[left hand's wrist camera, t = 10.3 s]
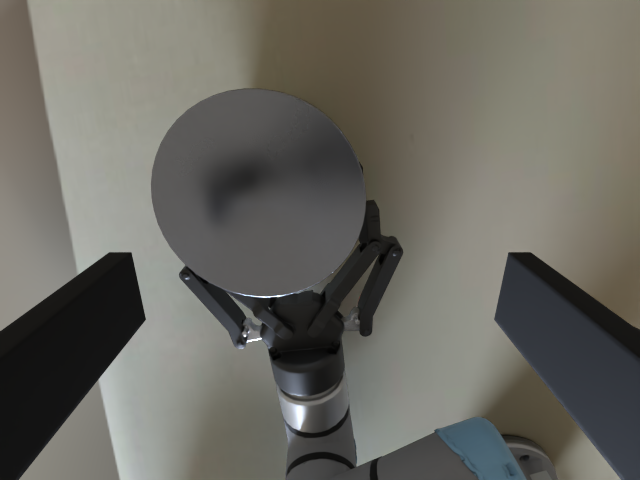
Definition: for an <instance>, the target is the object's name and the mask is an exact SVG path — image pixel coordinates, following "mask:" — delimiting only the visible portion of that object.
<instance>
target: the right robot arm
mask: <svg viewBox="0 0 640 480" xmlns="http://www.w3.org/2000/svg"><path fill="white" fill-rule="evenodd" d="M359 164H360V162H359ZM360 167H361V169H362V173H363V167H362V166H361V164H360ZM359 241H360V244H359V245H358V247H357V248H356V249H355V251H354V252H353V253H352V255H351V256H350V257H349V259H348V260H347V261H346V263H345V264H344V265H343V267H342V268H341V269H340V271H339V272H338V273H337V275H336V276H335V277H334V279H333V280H332V281H331V283H328V284H327V286H326V287H325V288H324V290H323V291H322V292H321V294H318V293H314V292H313V290H311V291H304V292H302V293H299V294H296V293H293V294H289V295H284V296H280V297H279V298H278V297H255V296H246V295H242V294H238V293H233V292H231V291H228V290H225V289H222V288H220V287H218V286H216V285H214V284H212V283H210V282H208V281H206V280H205V279H203V278H202V277H200V276H199V275H197V274H196V273H195V272H194V271H192V270H191V269H190V268H189V267H188V266H187V265H185V267H184V268H183V269H182V270H181V272H180V273H179V277H180V279H181V280H182V281H183V282H184V283H185V284H186V285H187V286H188V287H189V289H190V290H191V291H192V292H193V293H194V294H195V295H196V296H197V297H198V298H199V300H200V301H201V302H202V303H203V304H204V305H205V306H206V307H207V308H208V309H209V311H210V312H211V313H212V314H213V315H214V316H215V317H216V318H217V319H218V320H219V322H220V323H221V324H222V325H223V326H224V327H225V328H226V329H227V330H228V331H229V334H230V336H231V339H232V341H233V344H234V346H235V347H236V348H238V349H242V348H244V347H245V346H246V343H247V342H249V341H254V340H259V339H262V340H263V341H264V342H265V343H266V345H267V347H268V351H269V356H270V360H271V365H272V369H273V374H274V378H275V381H276V388H277V393H278V397H279V401H280V405H281V409H282V413H283V418H284V422H285V427H286V432H287V438H288V454H287V464H286V480H558V478H557V474H556V471H555V468H554V466H553V464H552V462H551V461H550V459H549V458H548V456H547V455H546V453H545V451H544V450H543V449H542V448H541V447H540V446H539V445H537V444H536V443H534V442H532V441H530V440H528V439H525V438H521V437H516V436H501V435H500V433H499V432H498V430H497V429H496V427H495V426H494V425H493V424H492V423H491V422H490V421H488V420H487V419H485V418H482V417H473V418H470V419H468V420H465V421H462V422H459V423H456V424H453V425H450V426H447V427H444V428H441V429H436V430H434V431H435V432H434V433H432V434H430V435H428V436H426V437H424V438H422V439H419V440H417V441H415V442H413V443H411V444H409V445H406V446H404V447H402V448H400V449H398V450H396V451H394V452H391V453H389V454H387V455H385V456H383V457H382V456H381V457H379V458H377V459H374V460H371V461H369V462H367V463H365V464H362V465H360V466H358V467H356V464H357V456H356V444H355V439H354V436H353V428H352V422H351V416H350V409H349V396H348V388H347V380H346V373H345V369H344V368H345V364H344V356H343V348H342V340H341V336H342V333H343V332H344V331H360V334H361V335H362V336H365V337H366V336H369V335H370V334H371V333H372V321H373V315H374V313H375V311H376V309H377V307H378V305H379V302H380V300H381V298H382V296H383V294H384V292H385V290H386V288H387V286H388V284H389V282H390V280H391V277H392V275H393V273H394V271H395V269H396V267H397V265H398V263H399V261H400V259H401V257H402V254H403V249H402V248H401V246H400V244H399V242H398V240H397V239H396V238H395V237H393V236H390V237H386V236H383V235H381V232H380V217H379V209H378V207H377V205H376V203H375V201H374V200H368V201H366V209H365V216H364V221H363V226H362V229H361V232H360V235H359ZM378 254H379V255H378ZM377 256H378V258H377V260H376V262H375V264H374V267H373V269H372V271H371V273H370V275H369V278H368V280H367V282H366V284H365V287H364V289H363V291H362V293H361V295H360V298H359V301H358V307H354V308H353V309H352V310H351V312H350V314H349V315H348V316H347V317H343V316H342V314H341V313H340V312H339V311H338V309H339V307H340V305H341V302H342V300H343V299H344V298H345V297H346V295H347V294H348V293H349V291H350V290H351V289H352V288H353V286H354V285H355V284H356V283H357V281H358V280H359V279H360V277H361V276H362V275H363V274H364V272H365V271H366V270H367V268H368V267H369V266H370V265H371V263H372V262H373V261H374V259H375V258H376V257H377ZM226 292H227V293H229V294H230V295H231V296H233V297H234V298H235V299H237V300H238V301H240V302H241V303H242V304H244V305H245V306H246V307H248V308H249V309H250V310H252V311H253V314H254V316H255V317H256V318H258V319H259V320H260V321H262V325H261V326H257V325H255V324H254V323H253V322H252V319H251V318H246V316H245V314H244V313H243V311H242V310H241V309H240V307H239V306H238V305H237V304H236V303H235V302H234V301H233V299H232V298H231V297H230V296H229V295H228V294H227V293H226ZM268 307H270V310H269V308H268Z"/></svg>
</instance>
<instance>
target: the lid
mask: <svg viewBox="0 0 640 480" xmlns="http://www.w3.org/2000/svg"><path fill="white" fill-rule="evenodd" d="M151 192H152V202H153V207H154V212H155V215H156V218H157V222H158V224H159V227H160V229H161V231H162V233H163V235H164V237H165V239H166V240H167V242H168V244H169V245H170V247H171V248H172V250H173V251H174V252H175V253H176V255H177V256H178V257H179V258H180V259H181V260H182V261H183V262H184V263H185V264H186V265H187V266H188V267H189V268H190V269H191V270H192V271H194V272H195V273H196V274H197V275H199V276H200V277H202V278H203V279H205V280H206V281H208V282H210V283H212V284H214V285H216V286H218V287H220V288H222V289H225V290H228V291H231V292H233V293H238V294H242V295H246V296H255V297H276V296H284V295H289V294H293V293H297V292H300V291H302V290H305V289H308V288H310V287H312V286H314V285H316V284H318V283H319V282H321V281H322V280H324V279H325V278H327V277H328V276H329V275H331V274H332V273H333V272H334V271H335V270H336V269H337V268H338V267H339V266H340V265H341V264H342V263H343V262H344V261H345V259H346V258H347V257H348V255H349V254H350V252H351V251H352V249H353V248H354V245H355V243H356V241H357V239H358V237H359V235H360V232H361V229H362V226H363V221H364V216H365V209H366V191H365V182H364V178H363V173H362V169H361V167H360V164H359V161H358V158H357V156H356V154H355V152H354V150H353V148H352V147H351V145H350V143H349V141H348V140H347V138H346V137H345V135H344V134H343V133H342V131H341V130H340V128H339V127H338V126H337V125H336V124H335V123H334V122H333V121H332V120H331V119H330V118H329V117H328V116H327V115H326V114H324V113H323V112H322V111H321V110H319V109H318V108H316V107H315V106H313V105H312V104H310V103H308V102H307V101H304V100H302V99H300V98H298V97H296V96H293V95H290V94H286V93H283V92H279V91H273V90H266V89H238V90H231V91H226V92H223V93H219V94H216V95H213V96H211V97H209V98H207V99H205V100H202V101H200V102H199V103H197V104H196V105H194V106H193V107H191V108H190V109H188V110H187V111H186V112H185V113H184V114H183V115H182V116H181V117H179V118H178V119H177V120H176V122H175V123H174V124H173V125H172V127H171V128H170V129H169V130H168V132H167V134H166V135H165V137H164V139H163V140H162V142H161V144H160V147H159V149H158V152H157V154H156V157H155V161H154V165H153V169H152V180H151Z"/></svg>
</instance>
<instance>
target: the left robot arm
mask: <svg viewBox="0 0 640 480" xmlns="http://www.w3.org/2000/svg"><path fill="white" fill-rule="evenodd" d="M145 320H146V318H145V314H144V309H143V304H142V300H141V295H140V290H139V286H138V281H137V276H136V272H135V267H134V262H133V257H132V253H131V252H109V253H108V254H107V255H105V256H104V257H102V258H101V259H100V260H98V261H97V262H96V263H94V264H93V265H91V266H90V267H89V268H87V269H86V270H84V271H83V272H82V273H80V274H79V275H78V276H76V277H75V278H73V279H72V280H71V281H69V282H68V283H67V284H65V285H64V286H62V287H61V288H60V289H58V290H57V291H56V292H54V293H53V294H51V295H50V296H49V297H47V298H46V299H44V300H43V301H42V302H40V303H39V304H38V305H36V306H35V307H33V308H32V309H31V310H29V311H28V312H26V313H25V314H24V315H22V316H21V317H20V318H18V319H17V320H15V321H14V322H13V323H11V324H10V325H9V326H7V327H6V328H4V329H3V330H2V331H0V480H19V479H20V477H21V476H22V475H23V473H24V472H25V471H26V470H27V469H28V467H29V466H30V465H31V464H32V462H33V461H34V460H35V458H36V457H37V456H38V455H39V453H40V452H41V451H42V450H43V448H44V447H45V446H46V445H47V443H48V442H49V441H50V440H51V438H52V437H53V436H54V435H55V433H56V432H57V431H58V429H59V428H60V427H61V426H62V424H63V423H64V422H65V421H66V419H67V418H68V417H69V416H70V414H71V413H72V412H73V411H74V409H75V408H76V407H77V406H78V404H79V403H80V402H81V400H82V399H83V398H84V397H85V395H86V394H87V393H88V392H89V390H90V389H91V388H92V387H93V385H94V384H95V383H96V382H97V380H98V379H99V378H100V377H101V375H102V374H103V373H104V372H105V370H106V369H107V368H108V367H109V365H110V364H111V363H112V361H113V360H114V359H115V358H116V356H117V355H118V354H119V353H120V351H121V350H122V349H123V348H124V346H125V345H126V344H127V343H128V341H129V340H130V339H131V338H132V336H133V335H134V334H135V332H136V331H137V330H138V329H139V327H140V326H141V325H142V324H143V322H144V321H145ZM494 320H495V321H496V322H497V324H498V325H499V326H500V327H501V329H502V330H503V331H504V332H505V334H506V335H507V336H508V338H509V339H510V340H511V341H512V343H513V344H514V345H515V346H516V348H517V349H518V350H519V351H520V353H521V354H522V355H523V356H524V358H525V359H526V360H527V361H528V363H529V364H530V365H531V367H532V368H533V369H534V370H535V372H536V373H537V374H538V375H539V377H540V378H541V379H542V380H543V382H544V383H545V384H546V385H547V387H548V388H549V389H550V390H551V392H552V393H553V394H554V395H555V397H556V398H557V399H558V401H559V402H560V403H561V404H562V406H563V407H564V408H565V409H566V411H567V412H568V413H569V414H570V416H571V417H572V418H573V419H574V421H575V422H576V423H577V424H578V426H579V427H580V428H581V429H582V431H583V432H584V433H585V435H586V436H587V437H588V438H589V440H590V441H591V442H592V443H593V445H594V446H595V447H596V448H597V450H598V451H599V452H600V453H601V455H602V456H603V457H604V458H605V460H606V461H607V462H608V464H609V465H610V466H611V467H612V469H613V470H614V471H615V472H616V474H617V475H618V476H619V477H620V479H621V480H640V329H638V328H635V327H633V326H632V325H630V324H629V323H627V322H626V321H625V320H623V319H622V318H620V317H619V316H618V315H616V314H615V313H614V312H612V311H611V310H609V309H608V308H607V307H605V306H604V305H603V304H601V303H600V302H598V301H597V300H596V299H594V298H593V297H591V296H590V295H589V294H587V293H586V292H585V291H583V290H582V289H580V288H579V287H578V286H576V285H575V284H573V283H572V282H571V281H569V280H568V279H567V278H565V277H564V276H562V275H561V274H560V273H558V272H557V271H556V270H554V269H553V268H551V267H550V266H549V265H547V264H546V263H544V262H543V261H542V260H540V259H539V258H538V257H536V256H535V255H533V254H532V253H531V252H509V253H508V257H507V262H506V267H505V272H504V276H503V281H502V286H501V290H500V295H499V300H498V304H497V309H496V314H495V318H494Z"/></svg>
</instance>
